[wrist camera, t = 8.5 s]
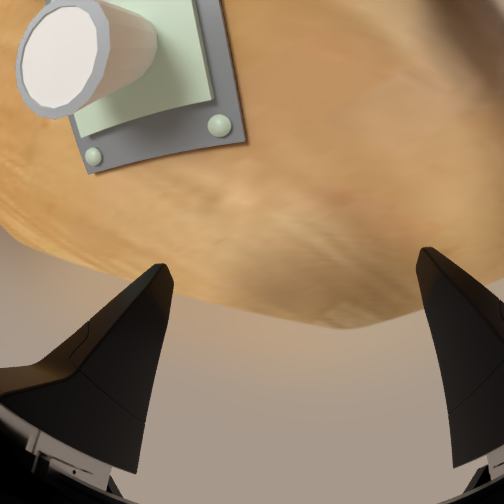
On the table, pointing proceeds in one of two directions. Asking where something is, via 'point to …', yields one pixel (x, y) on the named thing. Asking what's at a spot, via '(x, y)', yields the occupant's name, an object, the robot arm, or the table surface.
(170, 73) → the baseplate
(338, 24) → the table surface
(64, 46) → the shot glass
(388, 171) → the table surface
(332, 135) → the table surface
